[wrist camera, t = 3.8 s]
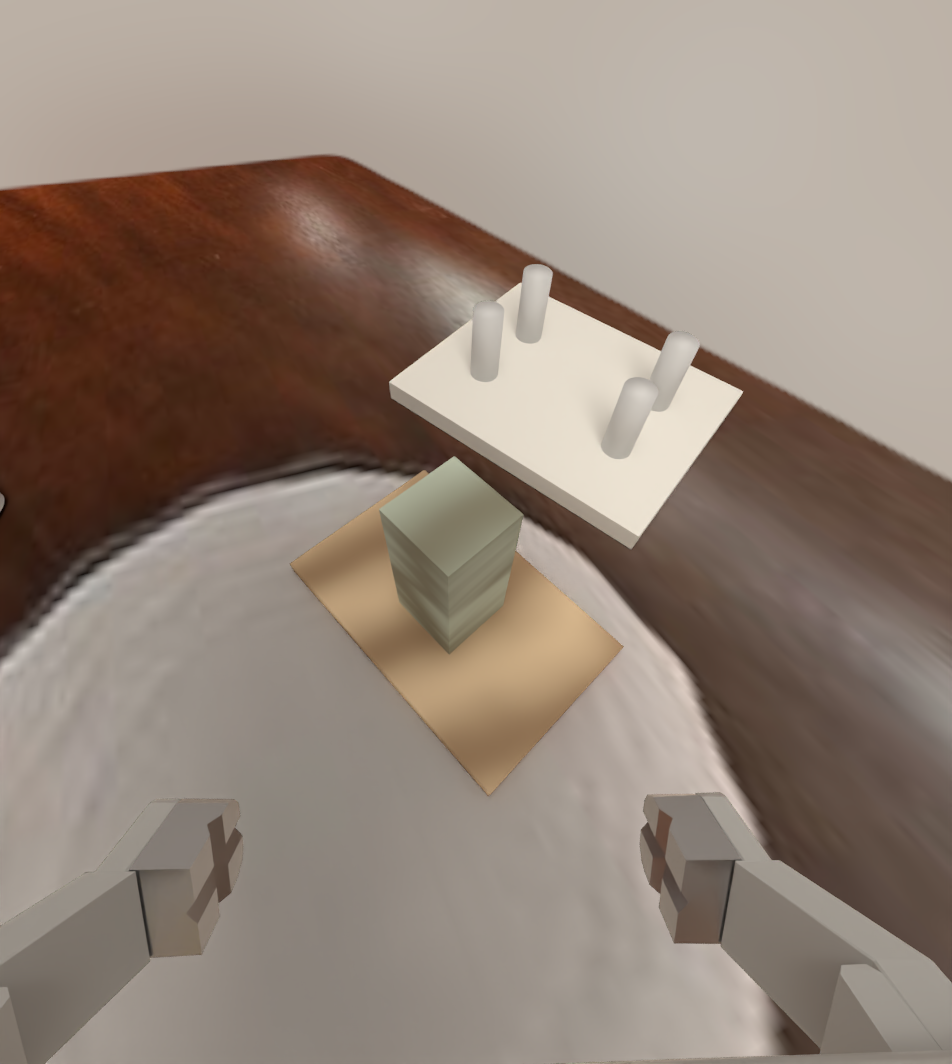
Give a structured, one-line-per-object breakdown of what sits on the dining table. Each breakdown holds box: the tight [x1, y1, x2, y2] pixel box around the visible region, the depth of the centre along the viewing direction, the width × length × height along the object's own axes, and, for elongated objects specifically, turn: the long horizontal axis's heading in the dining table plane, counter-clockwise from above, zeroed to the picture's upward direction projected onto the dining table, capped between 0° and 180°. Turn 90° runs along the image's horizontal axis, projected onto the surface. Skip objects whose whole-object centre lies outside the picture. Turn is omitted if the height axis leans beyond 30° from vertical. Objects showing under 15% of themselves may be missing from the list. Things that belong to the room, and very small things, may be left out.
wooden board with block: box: [290, 456, 623, 796], centre depth 24 cm, size 16×10×10 cm, turn 44°
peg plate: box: [389, 264, 743, 549], centre depth 34 cm, size 20×16×6 cm
